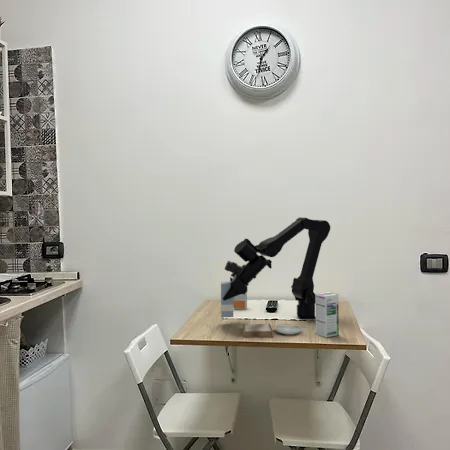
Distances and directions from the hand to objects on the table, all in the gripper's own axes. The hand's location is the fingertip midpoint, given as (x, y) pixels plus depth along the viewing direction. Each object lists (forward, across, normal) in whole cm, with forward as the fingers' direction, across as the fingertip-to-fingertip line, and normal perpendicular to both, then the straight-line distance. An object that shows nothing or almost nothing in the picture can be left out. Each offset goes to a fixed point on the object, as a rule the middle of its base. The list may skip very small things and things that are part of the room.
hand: (223, 298), depth 181 cm
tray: (-1, +11, +16) cm, 19 cm away
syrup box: (-18, +14, +33) cm, 40 cm away
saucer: (-9, +11, +23) cm, 27 cm away
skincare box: (+2, -26, +12) cm, 29 cm away
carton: (+4, 0, +6) cm, 7 cm away
